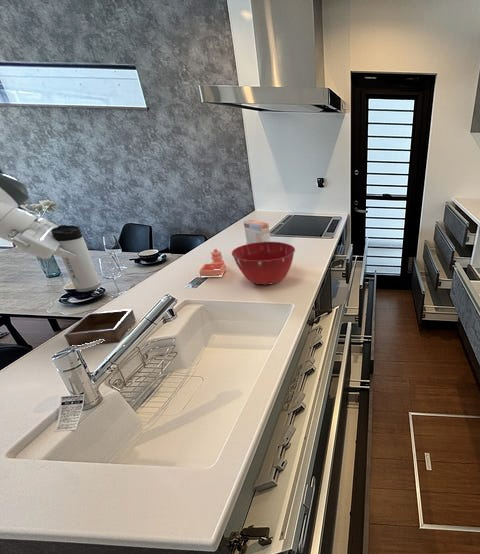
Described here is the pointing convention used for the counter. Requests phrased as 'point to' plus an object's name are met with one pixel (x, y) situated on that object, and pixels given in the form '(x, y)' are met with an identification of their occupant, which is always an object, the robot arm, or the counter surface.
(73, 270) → the travel mug
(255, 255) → the mixing bowl
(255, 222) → the cracker box
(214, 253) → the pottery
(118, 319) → the basket
